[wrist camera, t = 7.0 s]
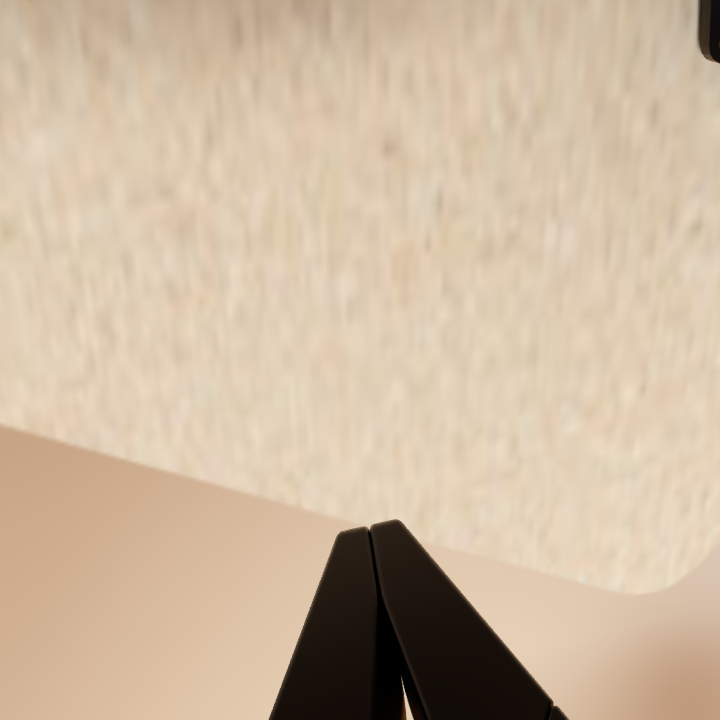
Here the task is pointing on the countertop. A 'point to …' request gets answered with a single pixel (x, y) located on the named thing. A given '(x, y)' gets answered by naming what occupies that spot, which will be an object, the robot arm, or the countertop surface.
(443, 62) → the countertop surface
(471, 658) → the robot arm
